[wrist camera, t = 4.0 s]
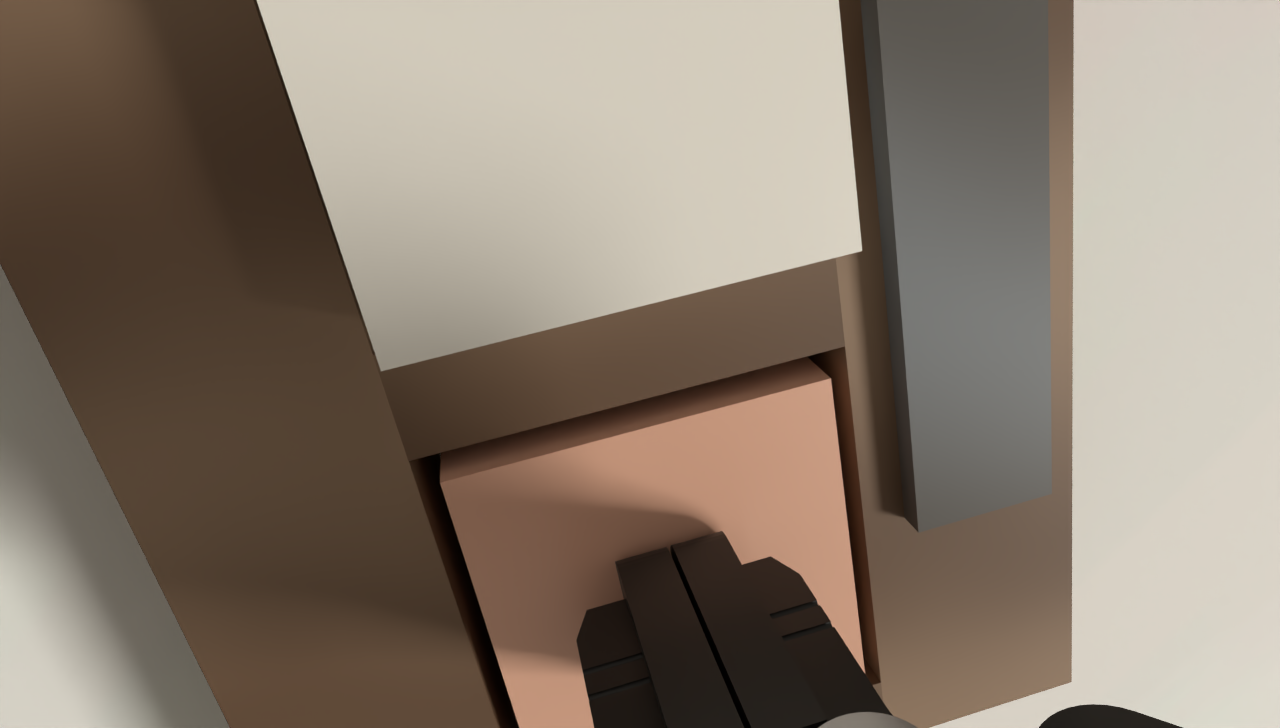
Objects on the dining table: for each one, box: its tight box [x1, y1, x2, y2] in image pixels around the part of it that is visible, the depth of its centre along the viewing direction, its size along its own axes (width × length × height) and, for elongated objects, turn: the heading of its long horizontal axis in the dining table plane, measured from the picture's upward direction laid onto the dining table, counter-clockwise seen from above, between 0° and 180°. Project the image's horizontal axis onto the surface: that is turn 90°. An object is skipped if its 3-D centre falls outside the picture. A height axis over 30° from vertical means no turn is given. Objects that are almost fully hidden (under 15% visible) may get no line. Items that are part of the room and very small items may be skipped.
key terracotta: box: [440, 357, 865, 728], centre depth 13 cm, size 5×5×2 cm
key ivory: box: [257, 0, 862, 371], centre depth 9 cm, size 5×5×2 cm
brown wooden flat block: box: [0, 0, 1073, 728], centre depth 10 cm, size 22×12×3 cm, turn 11°
